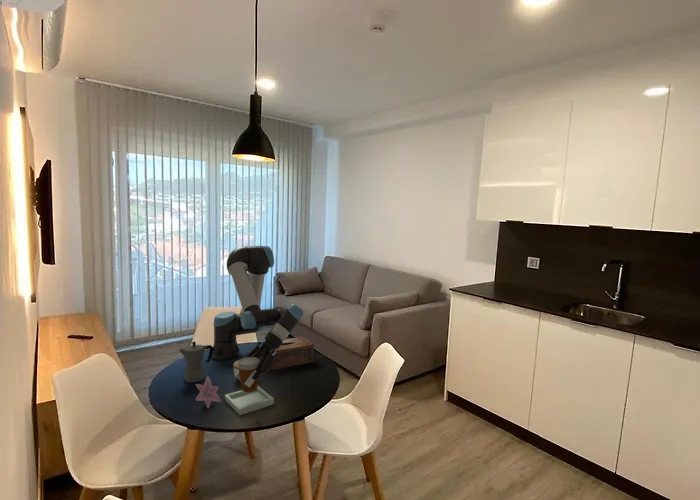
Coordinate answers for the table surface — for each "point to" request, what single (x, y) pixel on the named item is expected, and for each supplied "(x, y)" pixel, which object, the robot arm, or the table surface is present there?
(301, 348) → the tissue box cover
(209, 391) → the lily
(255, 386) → the disposable coffee cup
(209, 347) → the coffeepot
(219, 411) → the table surface
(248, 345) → the table surface
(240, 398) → the tray
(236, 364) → the lidded jar
